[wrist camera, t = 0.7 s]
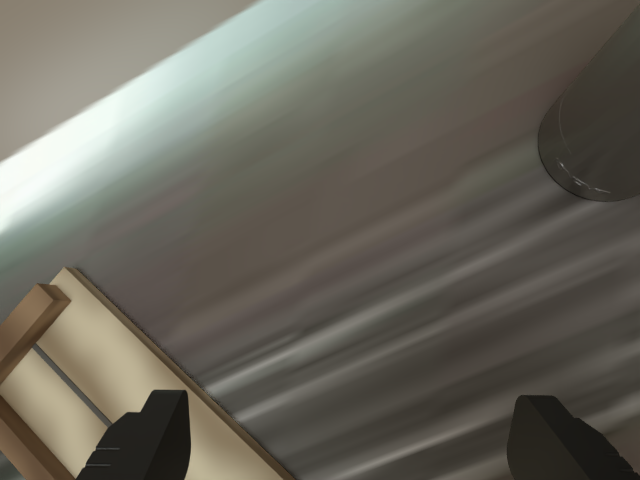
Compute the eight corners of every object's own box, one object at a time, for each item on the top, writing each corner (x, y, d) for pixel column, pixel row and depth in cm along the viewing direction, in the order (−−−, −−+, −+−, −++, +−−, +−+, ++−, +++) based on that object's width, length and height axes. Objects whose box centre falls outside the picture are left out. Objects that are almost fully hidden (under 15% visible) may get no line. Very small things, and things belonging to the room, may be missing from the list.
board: (76, 268, 36) (45, 264, 33) (352, 534, 30) (349, 562, 27) (-19, 380, 36) (-61, 387, 32) (243, 675, 30) (226, 722, 26)
